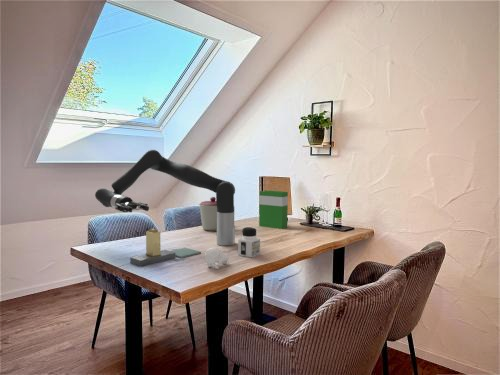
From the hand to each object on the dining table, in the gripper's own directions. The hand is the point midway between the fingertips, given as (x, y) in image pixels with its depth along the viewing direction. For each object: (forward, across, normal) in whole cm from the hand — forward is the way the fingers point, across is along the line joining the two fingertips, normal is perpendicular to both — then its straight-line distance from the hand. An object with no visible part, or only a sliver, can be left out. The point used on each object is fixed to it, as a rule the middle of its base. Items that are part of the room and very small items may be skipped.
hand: (139, 209), depth 166 cm
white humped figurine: (+40, +14, +18) cm, 46 cm away
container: (+37, +37, +18) cm, 55 cm away
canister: (-20, +67, +22) cm, 74 cm away
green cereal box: (+1, +102, +19) cm, 104 cm away
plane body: (+13, 0, +21) cm, 24 cm away
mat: (+13, +17, +20) cm, 29 cm away
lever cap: (+13, 0, +21) cm, 24 cm away
